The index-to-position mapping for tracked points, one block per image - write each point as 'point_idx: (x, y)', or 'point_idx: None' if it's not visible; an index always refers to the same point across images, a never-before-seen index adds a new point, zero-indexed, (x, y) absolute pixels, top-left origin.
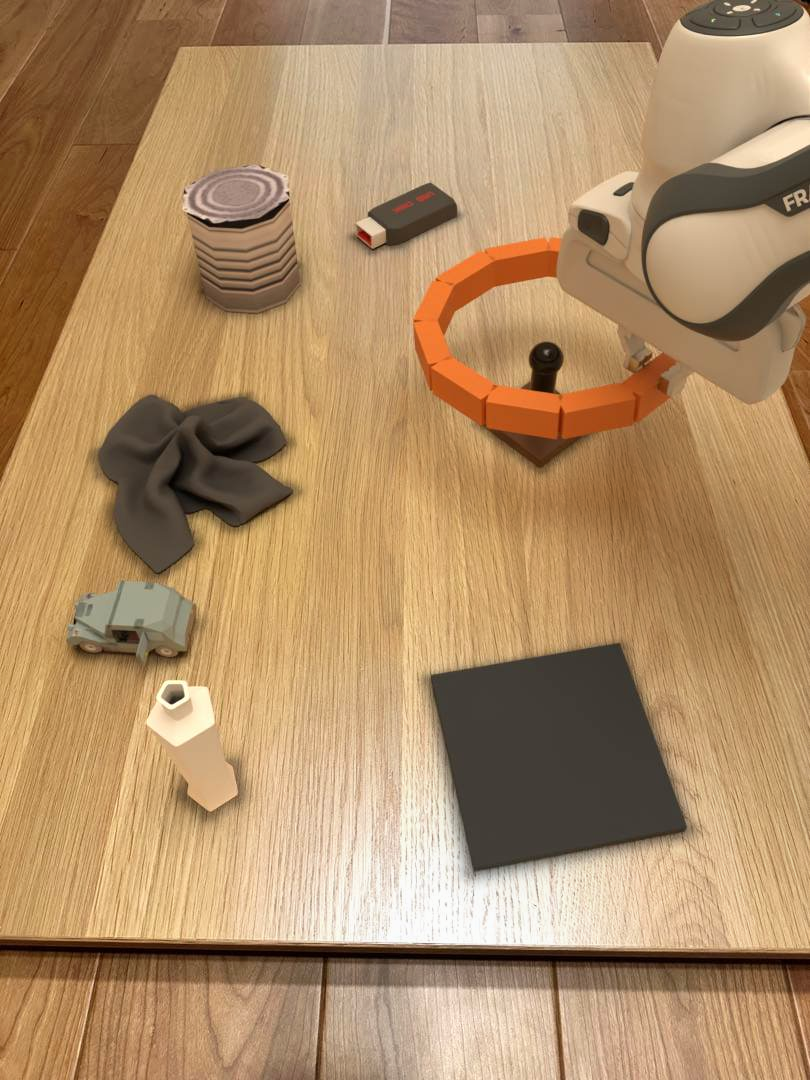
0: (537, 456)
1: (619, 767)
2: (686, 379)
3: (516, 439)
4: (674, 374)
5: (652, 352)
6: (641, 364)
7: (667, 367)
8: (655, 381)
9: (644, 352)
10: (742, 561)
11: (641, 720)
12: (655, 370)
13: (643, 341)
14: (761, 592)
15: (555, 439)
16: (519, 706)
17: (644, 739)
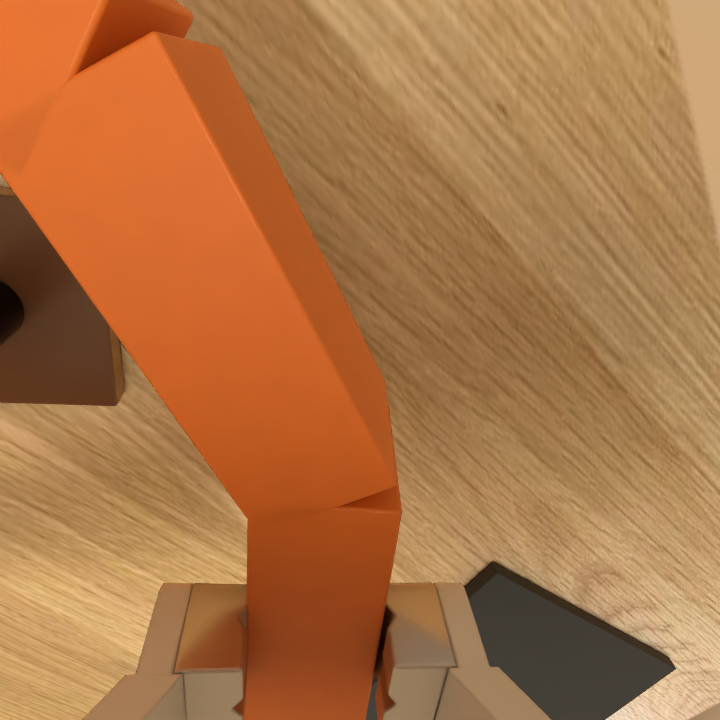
0: (103, 405)
1: (580, 673)
2: (477, 631)
3: (24, 399)
4: (434, 705)
5: (242, 671)
6: (245, 692)
7: (344, 598)
8: (356, 681)
9: (211, 695)
10: (604, 304)
11: (578, 624)
12: (309, 635)
13: (156, 708)
14: (659, 340)
15: (86, 338)
16: None
17: (592, 637)
